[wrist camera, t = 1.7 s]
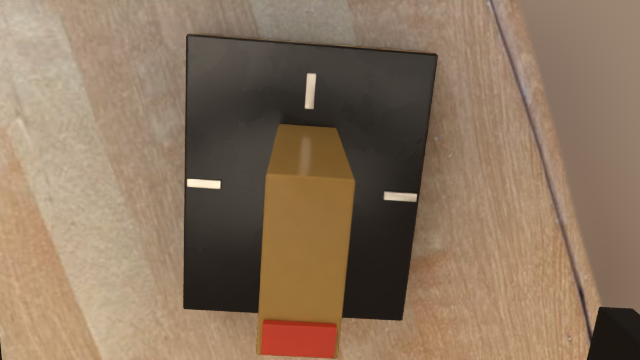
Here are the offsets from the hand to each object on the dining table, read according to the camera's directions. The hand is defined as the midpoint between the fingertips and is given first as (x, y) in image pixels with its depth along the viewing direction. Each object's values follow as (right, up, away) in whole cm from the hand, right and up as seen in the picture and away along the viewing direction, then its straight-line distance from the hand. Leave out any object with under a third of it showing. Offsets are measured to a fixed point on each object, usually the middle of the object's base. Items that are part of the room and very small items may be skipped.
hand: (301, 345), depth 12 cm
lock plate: (0, +4, +13) cm, 14 cm away
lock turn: (0, +3, +11) cm, 11 cm away
